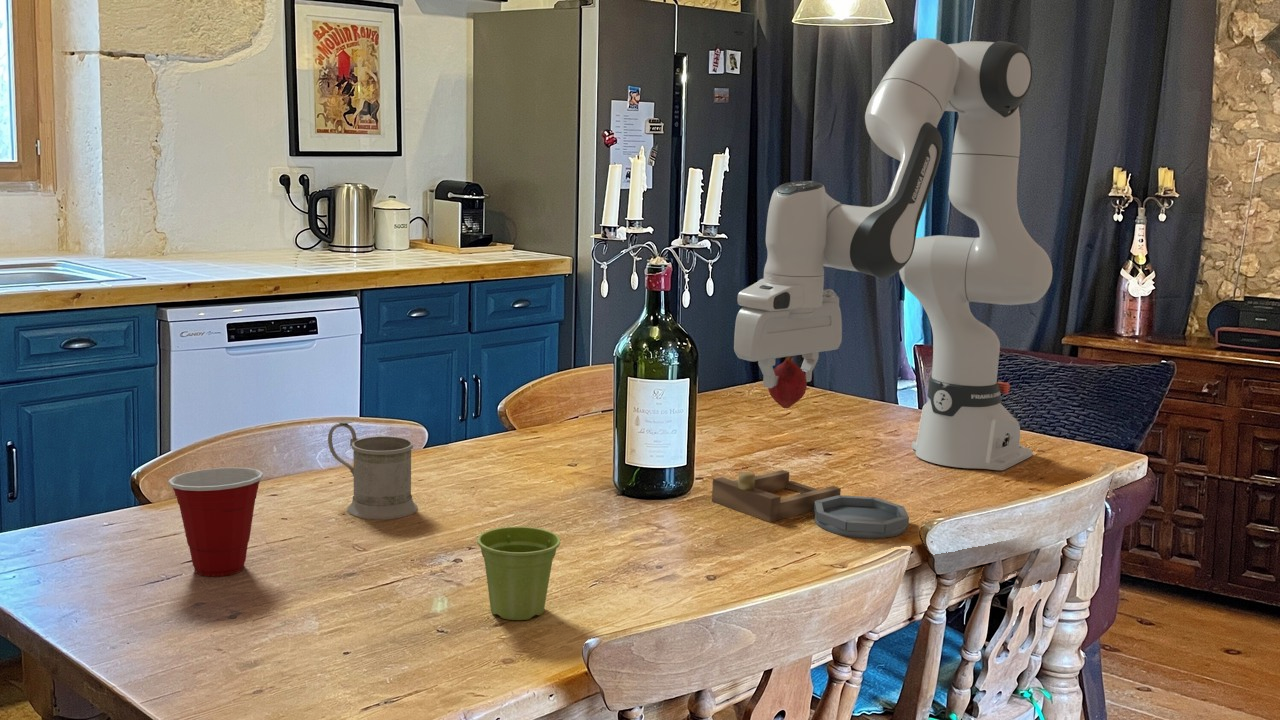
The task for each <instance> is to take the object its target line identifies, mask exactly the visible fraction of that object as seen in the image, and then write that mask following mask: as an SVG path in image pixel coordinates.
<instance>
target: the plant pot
mask: <svg viewBox="0 0 1280 720" xmlns="http://www.w3.org/2000/svg"><path fill="white" fill-rule="evenodd" d="M476 541H477V542H476V543H477V545H478V546H479V547H480V551H481V552H480V553H481V556H482V557H483V560H484V567H485V574H486V580H487V581H486V582H487V583H486V584H487V589H488V599H489V607H490V612H491V614H493V615H498V616H499V617H500V618H502V619H505V620H510V621H525V620H530V619H532V618H533V617H535V616H540V615H543V614H544V611H545V607H546V600H547V595H548V588H549V582H550V577H551V573H552V572H551V571H552V565H553V561H554V560H553V559H554V558H555V556H556V554H557V553H556V552H557V548H559V546H560V545H561V537H560V536H559V535H558V534H557V533H555V532H553V531H550V530H547V529H544V528H538V527H531V526H506V527H505V526H504V527H498V528H493V529H489V530H485V531H484V532H481V533H480V534H479V535H478V536H477V539H476Z"/></svg>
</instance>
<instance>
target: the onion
mask: <svg viewBox="0 0 1280 720" xmlns="http://www.w3.org/2000/svg"><path fill="white" fill-rule="evenodd" d="M794 360H795V359H794V357H793V356H788V357H785V359H784V361H783V362H781V363H779V364H778V365H776V367H775V368H773V370H774V373H775V375H777V376H779V381H778V383H779V385H778V387H774V388H767V389H768V393H769V394H770V395H769V396H771V398H772V399H773V400H774V402H776V403H777V405H779V406H780V407H782V408H783V409H790V408H791V407H792V406H793V405H795V404H796V403H797V402H799V401H801V399H803V397H804V395H805V393H806V391H807V383H808V382H807V381H806V377H805V374H804V372H803V371H802V369H801V367H800V366H799V365H798V364H797V363H795V362H794Z"/></svg>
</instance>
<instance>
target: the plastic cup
mask: <svg viewBox="0 0 1280 720" xmlns="http://www.w3.org/2000/svg"><path fill="white" fill-rule="evenodd" d="M263 476H264V472H262V471H261V470H260V469H255V468H249V467H215V468H205V469H198V470H193V471H189V472H183V473H181V474H177V475H175V476H172V477H171V478H170V479H169V480H168V481H167V483H168V484H169V486H170V487H171V488H172V490H173V491H174V492H173V493H174V495H175V497H176V500H177V504H178V506H179V509H180V514H181V519H182V523H183V530H184V533H185V537H186V542H187V545H188V548H189V553H190V558H191V563H192V566H193V567H194V568H193V569H194V571H195V572H196V574H198V575H201V576H205V577H225V576H232V575H233V574H238V573H239V572H241V571H243V569H244V567H245V563H246V560H247V553H248V545H249V541H250V538H251V530H252V524H253V519H254V518H253V517H254V512H255V511H254V509H255V505H256V504H255V503H256V499H257V495H258V494H257V493H258V490H259V485H260V482H261V480H262V479H263Z"/></svg>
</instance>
